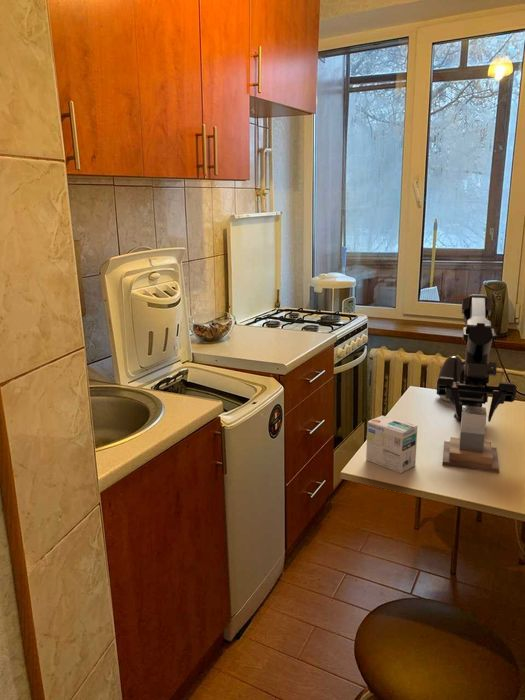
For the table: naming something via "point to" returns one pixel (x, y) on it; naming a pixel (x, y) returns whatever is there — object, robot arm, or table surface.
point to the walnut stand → (470, 457)
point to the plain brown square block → (472, 429)
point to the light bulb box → (391, 443)
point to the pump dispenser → (451, 370)
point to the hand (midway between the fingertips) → (473, 419)
